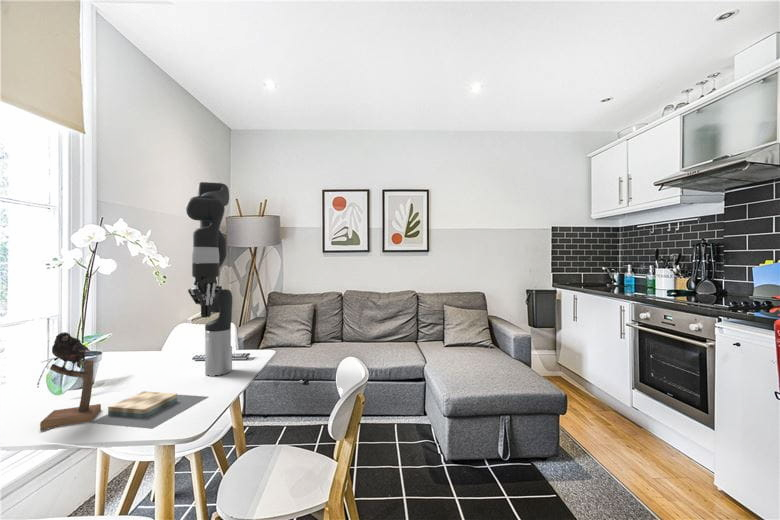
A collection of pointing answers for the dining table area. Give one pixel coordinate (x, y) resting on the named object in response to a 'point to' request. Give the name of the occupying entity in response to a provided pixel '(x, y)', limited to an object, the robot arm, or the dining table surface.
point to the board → (142, 404)
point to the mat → (155, 418)
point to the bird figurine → (72, 352)
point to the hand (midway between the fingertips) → (206, 317)
